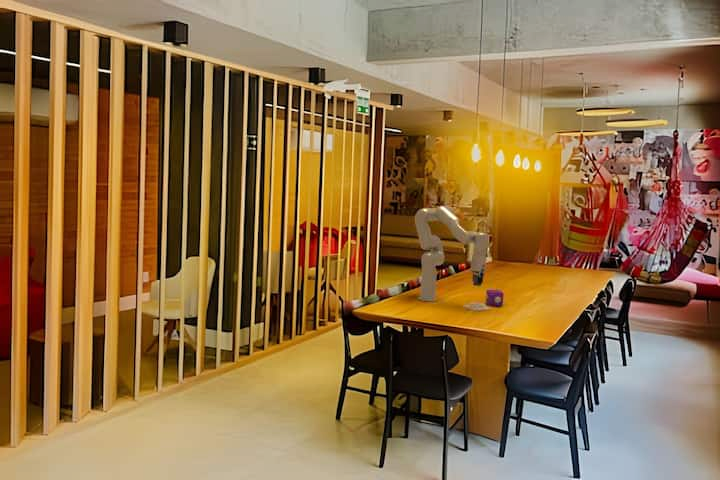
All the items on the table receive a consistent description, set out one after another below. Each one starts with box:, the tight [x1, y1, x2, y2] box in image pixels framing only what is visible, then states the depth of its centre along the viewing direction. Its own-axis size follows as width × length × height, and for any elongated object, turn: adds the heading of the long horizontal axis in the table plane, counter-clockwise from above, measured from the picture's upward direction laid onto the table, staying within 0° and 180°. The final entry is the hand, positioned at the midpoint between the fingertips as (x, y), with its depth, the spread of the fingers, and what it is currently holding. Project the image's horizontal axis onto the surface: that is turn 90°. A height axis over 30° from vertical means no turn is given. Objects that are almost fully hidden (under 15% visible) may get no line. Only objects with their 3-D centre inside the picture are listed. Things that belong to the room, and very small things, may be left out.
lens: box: [472, 272, 483, 287], centre depth 385 cm, size 5×5×8 cm
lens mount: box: [463, 301, 492, 312], centre depth 390 cm, size 12×12×3 cm
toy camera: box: [485, 288, 504, 307], centre depth 404 cm, size 11×14×10 cm
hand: (477, 281), depth 386 cm, fingers closed on lens, 5 cm apart
